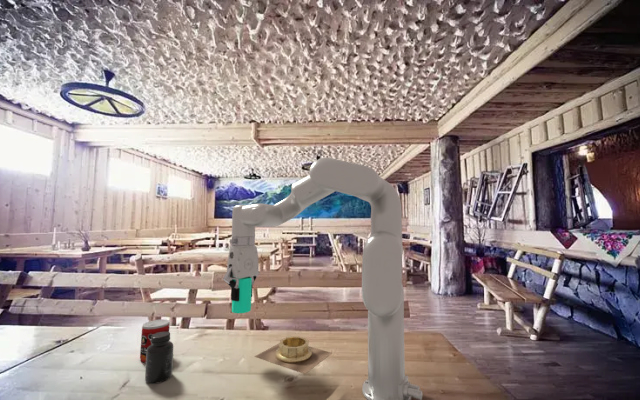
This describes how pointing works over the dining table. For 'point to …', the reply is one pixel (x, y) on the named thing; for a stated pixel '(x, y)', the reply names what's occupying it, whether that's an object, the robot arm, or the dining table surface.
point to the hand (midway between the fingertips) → (241, 298)
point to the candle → (243, 296)
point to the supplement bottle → (159, 358)
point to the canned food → (148, 331)
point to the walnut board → (299, 367)
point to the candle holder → (293, 350)
